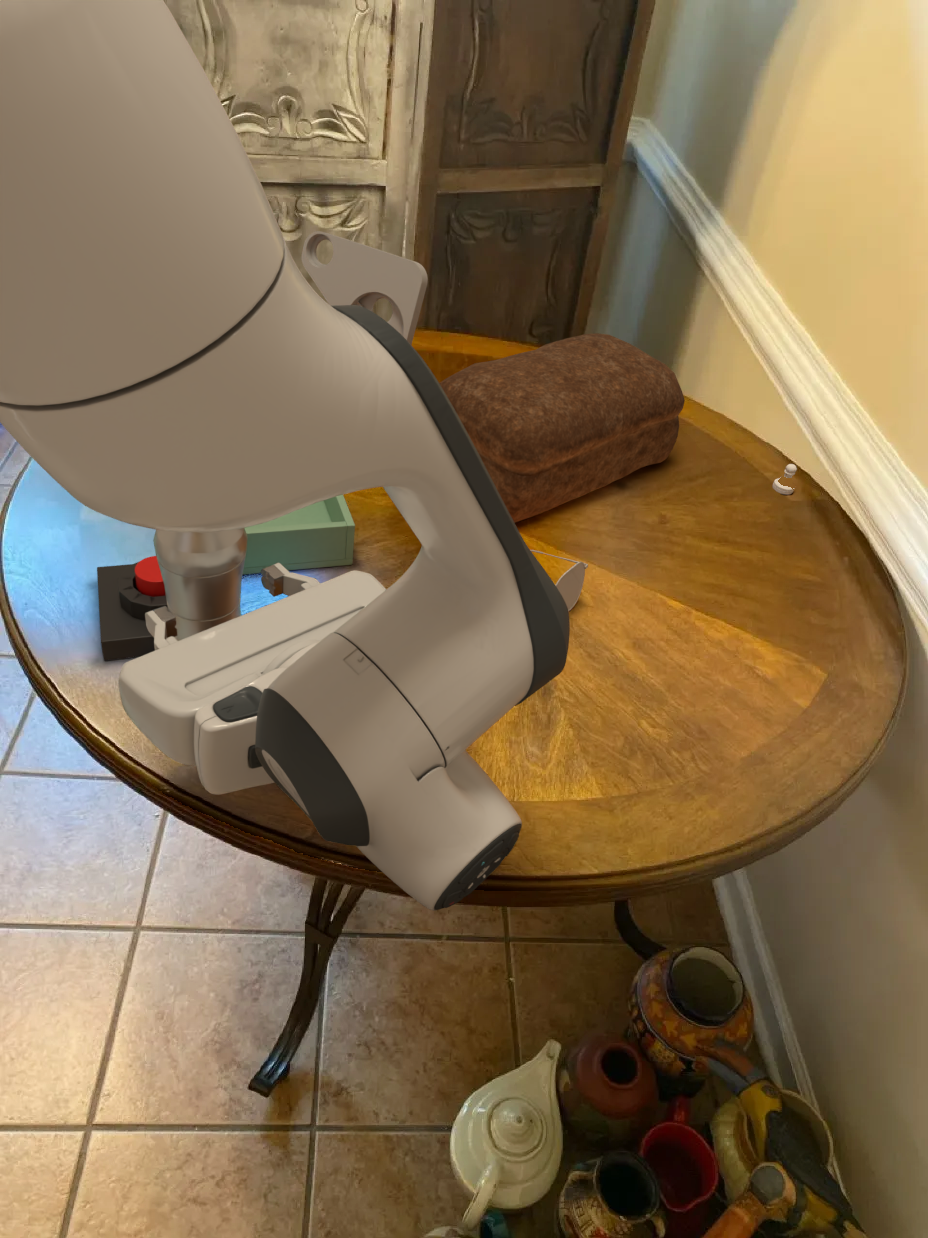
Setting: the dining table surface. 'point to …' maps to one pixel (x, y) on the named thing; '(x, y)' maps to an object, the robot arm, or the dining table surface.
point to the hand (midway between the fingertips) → (214, 593)
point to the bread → (566, 418)
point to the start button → (149, 577)
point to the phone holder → (368, 279)
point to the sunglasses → (570, 581)
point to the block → (124, 613)
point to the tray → (303, 538)
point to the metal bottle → (201, 576)
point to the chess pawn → (789, 472)
